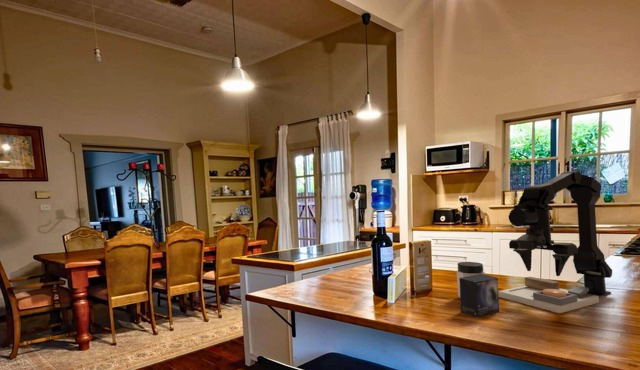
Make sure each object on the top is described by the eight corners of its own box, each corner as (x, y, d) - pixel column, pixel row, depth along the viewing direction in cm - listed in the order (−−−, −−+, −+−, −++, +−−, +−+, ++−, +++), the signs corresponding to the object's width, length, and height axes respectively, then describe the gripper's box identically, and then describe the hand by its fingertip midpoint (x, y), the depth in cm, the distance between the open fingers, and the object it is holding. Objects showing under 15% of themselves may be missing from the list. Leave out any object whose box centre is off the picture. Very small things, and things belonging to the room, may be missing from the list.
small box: (478, 317, 97) (475, 281, 98) (459, 311, 103) (457, 277, 103) (501, 311, 102) (498, 276, 102) (482, 305, 108) (480, 273, 108)
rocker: (577, 288, 110) (576, 285, 110) (589, 290, 107) (588, 287, 107) (568, 293, 108) (567, 290, 108) (580, 296, 105) (579, 293, 105)
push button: (551, 294, 108) (550, 287, 108) (571, 298, 102) (570, 292, 102) (538, 297, 105) (538, 290, 105) (558, 301, 100) (558, 295, 100)
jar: (475, 303, 110) (473, 267, 110) (454, 298, 117) (451, 264, 117) (490, 298, 115) (488, 263, 115) (469, 293, 121) (466, 260, 122)
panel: (536, 288, 124) (535, 278, 124) (599, 302, 106) (597, 289, 106) (499, 297, 116) (498, 285, 116) (559, 313, 98) (558, 299, 98)
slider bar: (530, 284, 121) (530, 276, 122) (559, 291, 112) (558, 282, 112) (525, 286, 120) (524, 277, 120) (554, 292, 111) (553, 283, 111)
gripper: (496, 225, 113) (499, 271, 112) (553, 227, 96) (557, 282, 95) (518, 223, 117) (521, 267, 117) (576, 225, 100) (581, 277, 99)
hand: (543, 273), depth 107 cm, fingers open, 9 cm apart
